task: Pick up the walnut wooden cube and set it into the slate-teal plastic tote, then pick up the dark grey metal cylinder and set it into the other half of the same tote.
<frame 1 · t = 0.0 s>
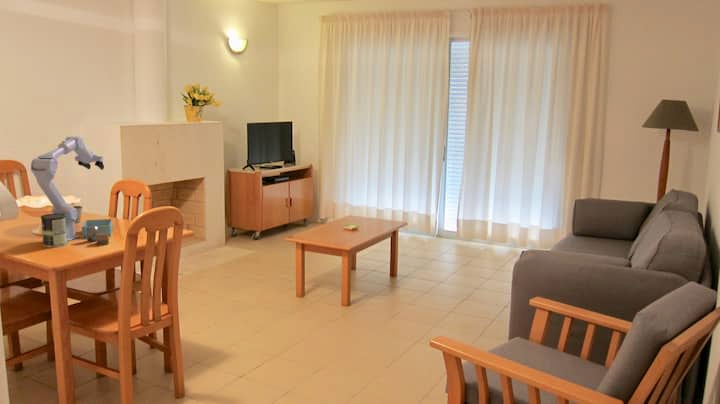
hand: (96, 167, 310), 32 cm above the table, tool tilted 50°, fingers open, 7 cm apart
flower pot: (74, 222, 325), on the table
tote: (98, 233, 301), on the table
walnut cube: (102, 243, 280), on the table
coffee can: (55, 245, 277), on the table
grey cylinder: (93, 240, 285), on the table
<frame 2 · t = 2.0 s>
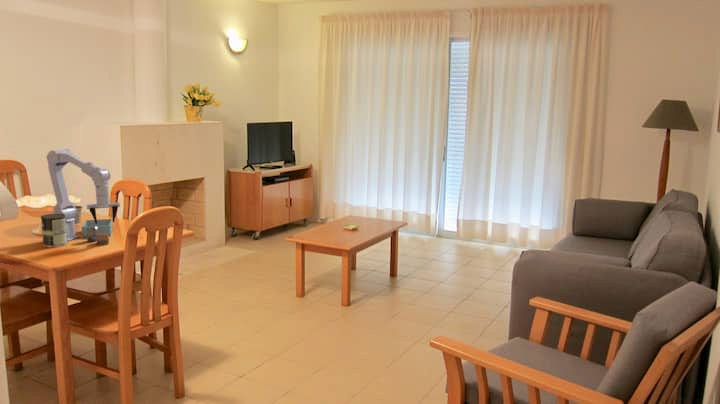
hand: (104, 222, 280), 10 cm above the table, tool pointing down, fingers open, 7 cm apart
nothing on the table moved.
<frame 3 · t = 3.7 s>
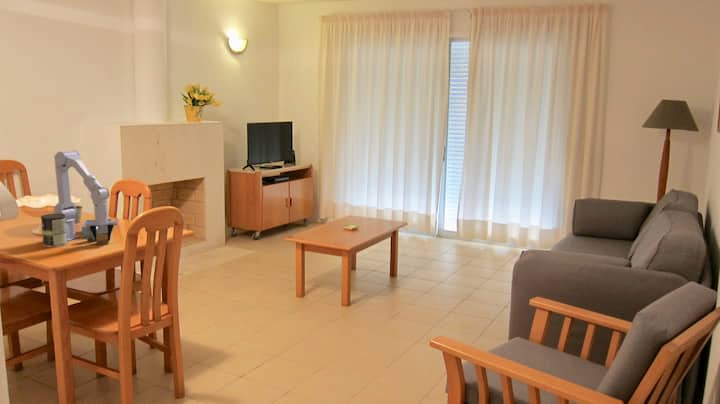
hand: (102, 240, 280), 1 cm above the table, tool pointing down, fingers closed on walnut cube, 5 cm apart
walnut cube: (102, 243, 280), on the table, touching gripper
everything else where it was.
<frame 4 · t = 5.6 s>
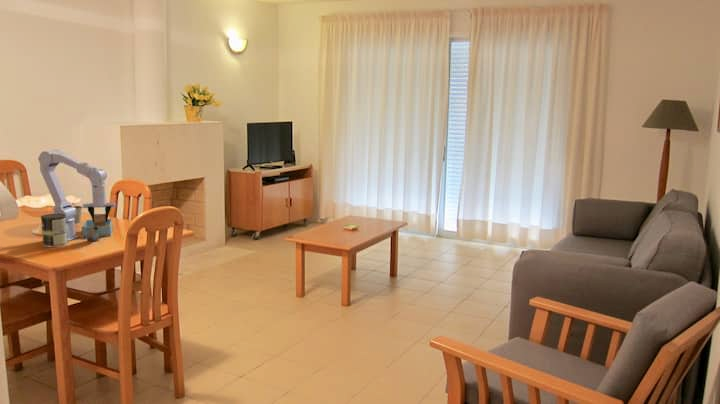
hand: (100, 221, 285), 9 cm above the table, tool pointing down, fingers closed on walnut cube, 5 cm apart
walnut cube: (100, 225, 285), point 8 cm above the table, touching gripper
everything else where it was.
when the fingers open (3 cm above the table, at t = 8.0 s): walnut cube drops 1 cm, resting on tote.
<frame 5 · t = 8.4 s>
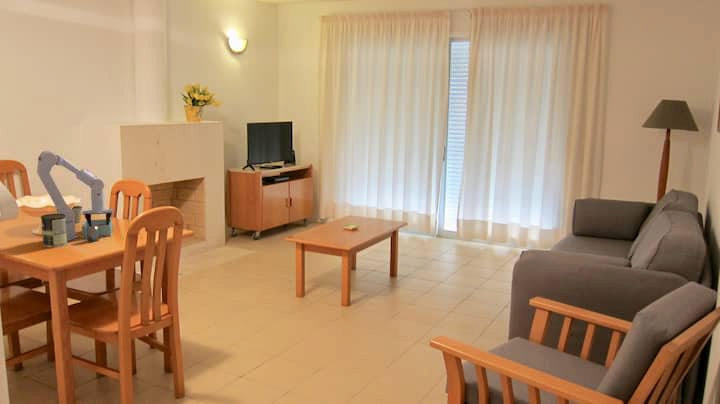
hand: (99, 228, 297), 4 cm above the table, tool pointing down, fingers open, 7 cm apart
walnut cube: (99, 233, 297), point 1 cm above the table, touching tote
everything else where it was.
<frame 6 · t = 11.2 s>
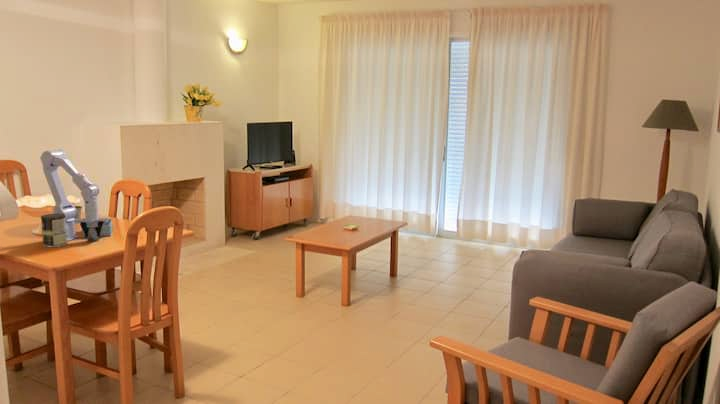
hand: (92, 237, 285), 2 cm above the table, tool pointing down, fingers closed on grey cylinder, 5 cm apart
grey cylinder: (93, 240, 285), on the table, touching gripper
everything else where it was.
when the fingers open (4 cm above the table, at t = 15.7 s): grey cylinder stays where it is, resting on tote.
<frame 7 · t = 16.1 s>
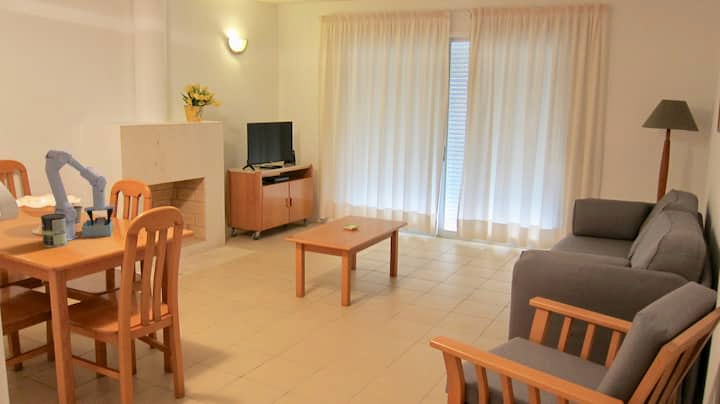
hand: (100, 224, 304), 4 cm above the table, tool pointing down, fingers open, 7 cm apart
grey cylinder: (101, 230, 304), point 1 cm above the table, touching tote
everything else where it was.
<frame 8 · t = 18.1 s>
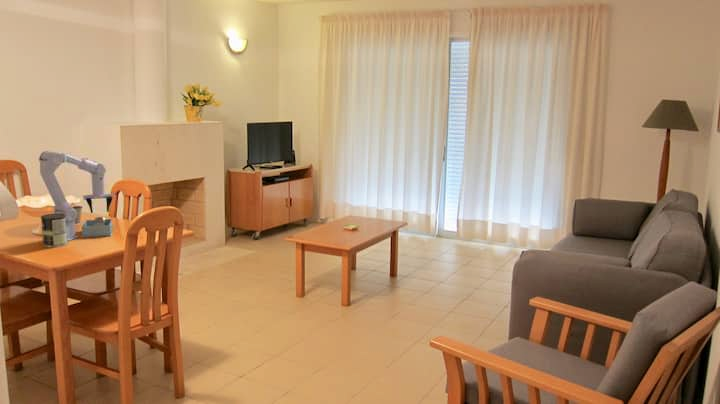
hand: (99, 212, 303), 10 cm above the table, tool pointing down, fingers open, 7 cm apart
nothing on the table moved.
at the end: walnut cube inside the target area on the tote (4.5 cm from its centre), point 0.6 cm above the tote's base; grey cylinder inside the target area on the tote (2.8 cm from its centre), point 0.6 cm above the tote's base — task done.
